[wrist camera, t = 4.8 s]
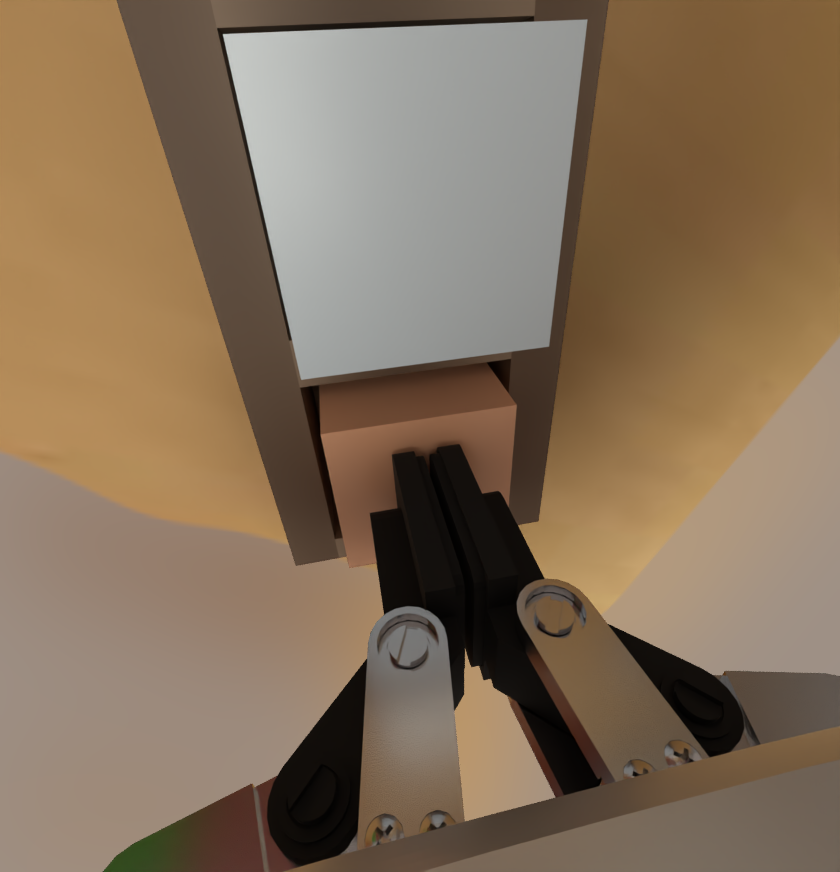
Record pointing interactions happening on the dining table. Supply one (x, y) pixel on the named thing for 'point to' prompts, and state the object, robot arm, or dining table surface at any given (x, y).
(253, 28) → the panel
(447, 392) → the orange cube
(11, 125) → the dining table surface
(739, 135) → the dining table surface
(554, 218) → the light grey cube
